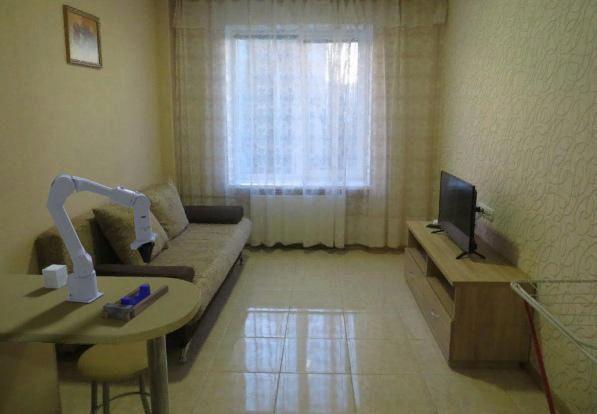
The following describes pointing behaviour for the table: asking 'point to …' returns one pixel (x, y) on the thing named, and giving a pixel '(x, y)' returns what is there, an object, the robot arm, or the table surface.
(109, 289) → the table surface
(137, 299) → the cable clip
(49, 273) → the skincare box
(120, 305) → the cable track
